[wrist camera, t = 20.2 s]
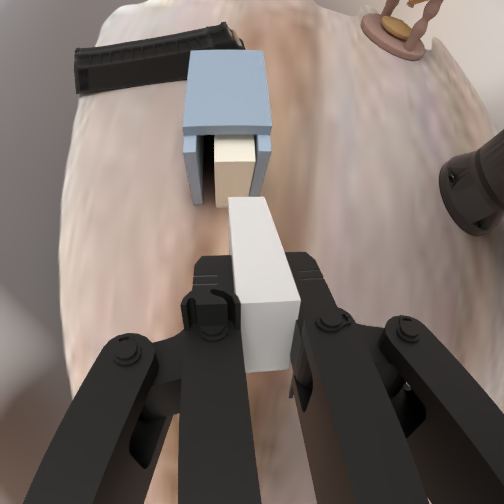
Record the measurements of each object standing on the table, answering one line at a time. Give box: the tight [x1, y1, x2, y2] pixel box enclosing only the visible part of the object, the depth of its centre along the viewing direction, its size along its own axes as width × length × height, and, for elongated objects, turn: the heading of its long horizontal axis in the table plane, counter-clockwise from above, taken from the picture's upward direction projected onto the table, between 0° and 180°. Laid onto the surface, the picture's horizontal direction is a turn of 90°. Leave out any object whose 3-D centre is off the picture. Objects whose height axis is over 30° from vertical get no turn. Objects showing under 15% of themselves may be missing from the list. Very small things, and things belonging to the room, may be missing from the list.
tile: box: [214, 134, 256, 208], centre depth 36 cm, size 13×4×12 cm, turn 3°
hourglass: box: [361, 0, 443, 60], centre depth 44 cm, size 18×18×25 cm
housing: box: [183, 50, 272, 205], centre depth 35 cm, size 14×8×14 cm, turn 3°
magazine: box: [74, 22, 245, 94], centre depth 40 cm, size 17×3×30 cm
